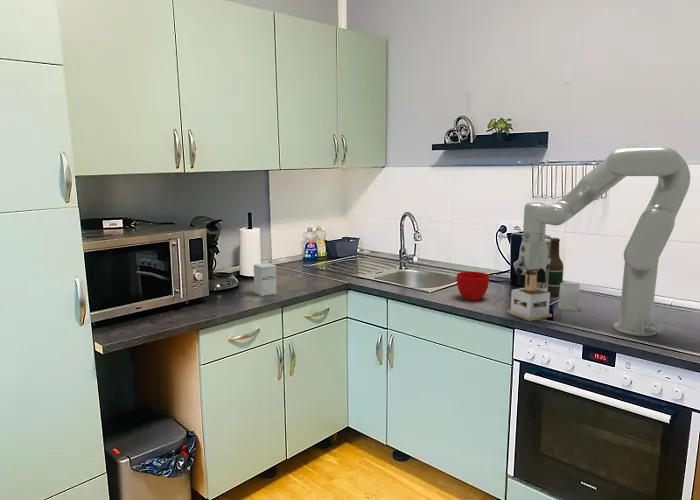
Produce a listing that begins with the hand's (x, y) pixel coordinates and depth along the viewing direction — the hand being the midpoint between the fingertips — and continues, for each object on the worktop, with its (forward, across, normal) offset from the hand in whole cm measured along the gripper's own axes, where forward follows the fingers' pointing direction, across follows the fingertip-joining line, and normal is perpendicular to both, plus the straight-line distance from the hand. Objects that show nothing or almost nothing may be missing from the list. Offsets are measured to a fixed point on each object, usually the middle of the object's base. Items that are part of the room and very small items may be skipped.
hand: (531, 283), depth 189 cm
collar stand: (+12, 0, 0) cm, 12 cm away
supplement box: (+12, -77, +75) cm, 108 cm away
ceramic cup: (+12, -2, +28) cm, 31 cm away
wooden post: (+11, 0, 0) cm, 11 cm away
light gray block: (+12, +19, -1) cm, 23 cm away
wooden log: (+12, +18, +13) cm, 25 cm away
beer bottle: (+12, +30, +17) cm, 37 cm away
